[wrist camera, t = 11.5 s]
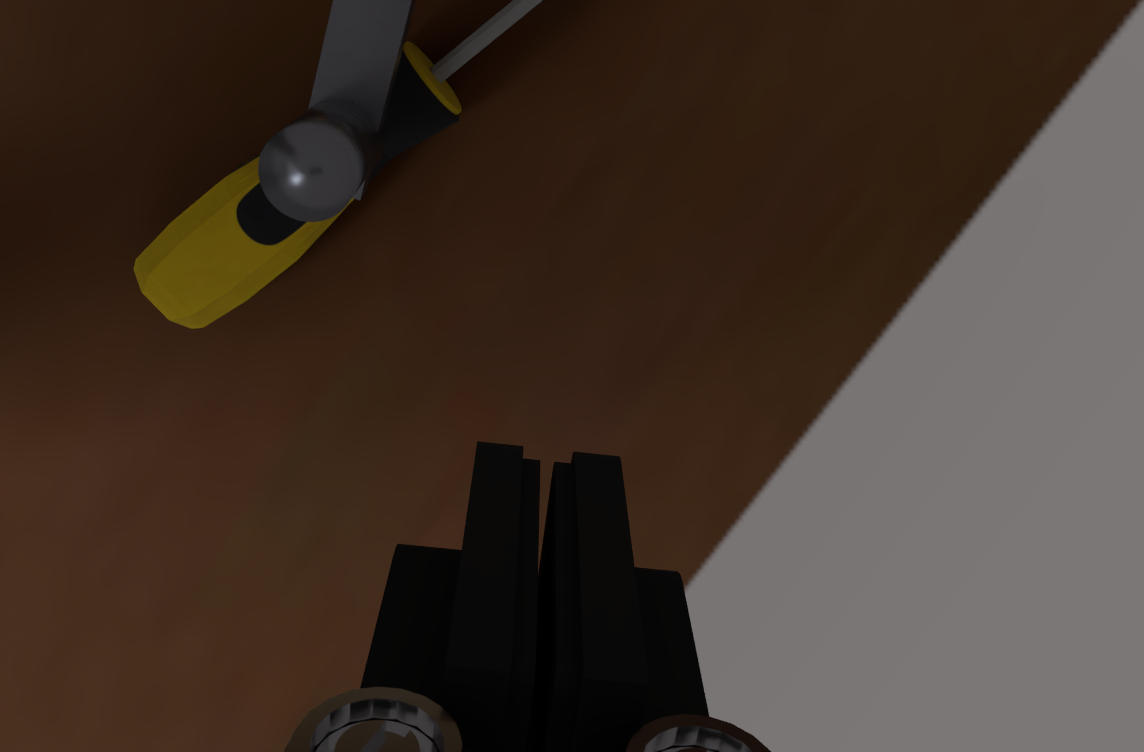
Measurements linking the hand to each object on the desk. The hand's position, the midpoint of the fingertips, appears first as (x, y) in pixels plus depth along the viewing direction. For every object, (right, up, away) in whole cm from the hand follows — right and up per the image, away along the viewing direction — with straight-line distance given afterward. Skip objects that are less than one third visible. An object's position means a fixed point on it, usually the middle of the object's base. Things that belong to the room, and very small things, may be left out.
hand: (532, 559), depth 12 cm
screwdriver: (-2, +14, +22) cm, 26 cm away
